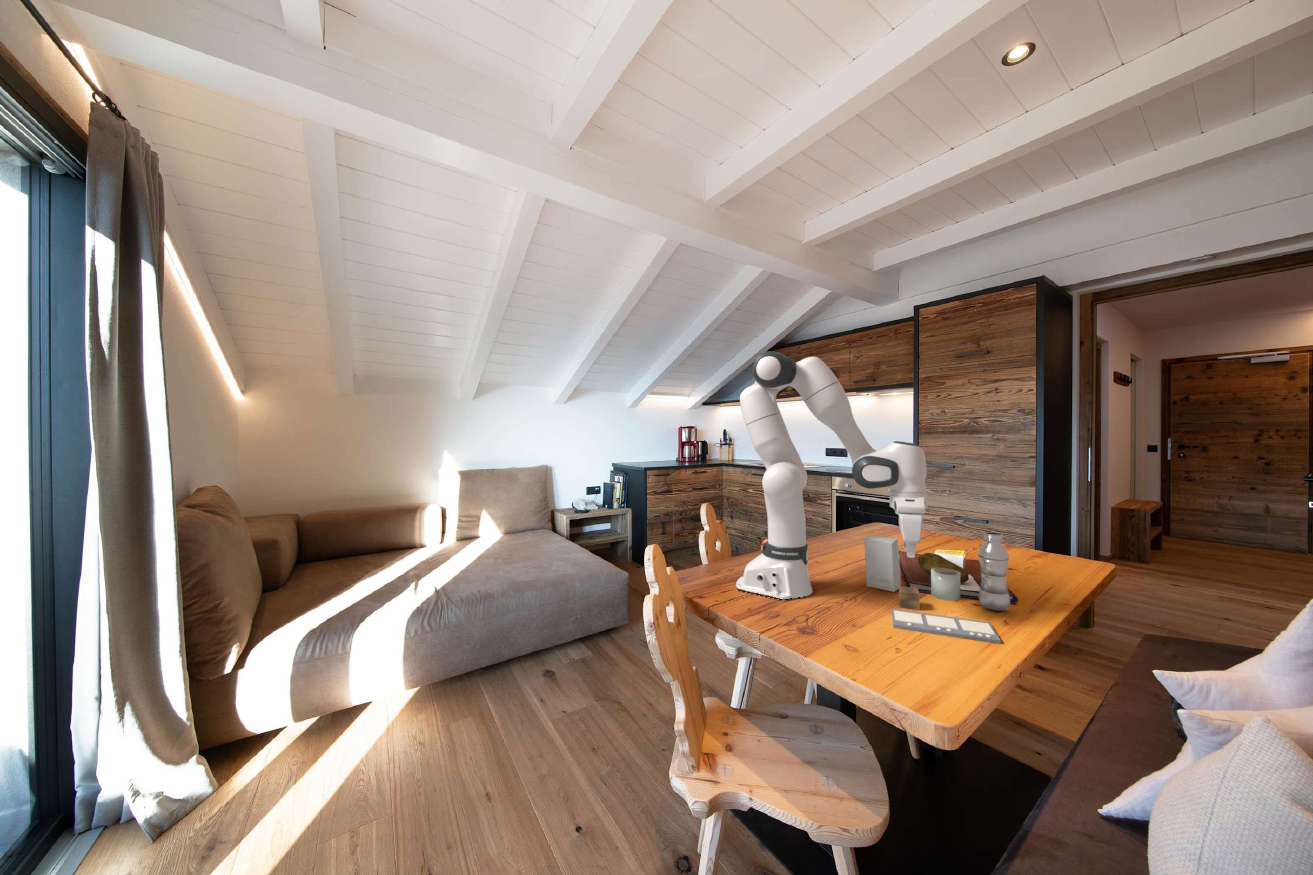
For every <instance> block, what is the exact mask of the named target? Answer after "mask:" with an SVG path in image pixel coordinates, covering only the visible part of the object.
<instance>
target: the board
mask: <svg viewBox="0 0 1313 875" xmlns="http://www.w3.org/2000/svg"><path fill="white" fill-rule="evenodd" d="M891 618H892V625H893V628H895V629H900V630H902V629H903V630H908V631H914V632H919V633H920V632H921V633H927V634H933V635H940V636H946V637H952V638H953V637H954V638H960V639H967V640H972V641H979V642H986V643H992V642H993V643H994V644H997V643H998V645H999V644H1000V645H1001V644H1002V640H1001V638H1000V637H999V635H998V634H997V632H996V631H995V629H994V627H993V626H992V624H991V623H990V622H989V621H984V620H983V621H982V620H976V619H969V618H961V617H954V616H946V615H940V614H932V613H925V612H917V611H911V610H903V609H897V608H891ZM993 643H992V644H993Z"/></svg>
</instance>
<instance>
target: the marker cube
mask: <svg viewBox="0 0 1313 875" xmlns="http://www.w3.org/2000/svg"><path fill="white" fill-rule="evenodd" d="M898 604H899V608H900V609H907V610H914V611H920V609H921V608H920V607H921V606H920V591H919V588H917V587H911V586H902V585H901V586H899V589H898Z"/></svg>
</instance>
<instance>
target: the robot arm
mask: <svg viewBox="0 0 1313 875" xmlns="http://www.w3.org/2000/svg"><path fill="white" fill-rule="evenodd" d="M751 369H752V370H751V371H752V373H751V374H752V376H753V378H754V383H753V384H752V385H749V386H748V387H745V388H744V390H743V391H742V392H740V396H739V403H740V404H739V405H740V410H741V413H742V417H743V421H744V424H745V427H746V429H747V432H748V434H749V437H750V439H751V442H752V445H753V448H754V450H755V451H756V453H757V455H758V456H759V458H760V459H761V461H762V463H763V465H764V468H765V469H766V470H765V472H764V473H763V476H762V480H761V482H762V484H761V485H762V489H763V496H764V497H763V498H764V502H765V509H766V517H767V538H765V539H764V540H763V541H762V542H761V546H760V550H761V553H760V554H759V555H758V556H756V557H755V558H753V559H752V560H751V561H749V562H748V563H747V564H746V565H745V568H744V570H743V571H744V572H743V576H740V577H739V578H738V580H736V583H735V588H736V587H737V588H738V589H742V590H745V591H750V592H754V593H759V594H764V595H769V596H773V597H776V598H780V599H789V598H792V599H799V598H798V597H800V598H805V597H808V596H811V594H813V587H812V584H811V580H810V575H809V570H808V568H809V567H808V563H809V547H808V544H807V534H806V533H807V529H806V528H807V526H806V525H807V524H806V521H807V520H806V519H807V517H806V514H805V507H804V506H805V505H804V494H803V491H804V489H805V488H806V485H807V484H808V483H807V482H808V473H807V470H806V468H805V466H804V464H803V461H802V459H801V456H800V454H799V452H798V450H797V448H796V447H795V445H794V443H793V440H792V439H791V437H790V434H789V432H788V429H787V426H786V424H785V421H784V418H783V416H782V414H781V411H780V408H779V405H778V403H777V397H779V395H781V394H782V393H783V392H785V391H786V390H787V389H788V388H790V387H791V388H794V389H795V390H796V391H797V393H798V394H799V396H800V397H801V399H802V401H803V402H804V403H805V405H806V407H807V408H808V410H809V411H810V413H811V414H812V415H813V416H814V417H815V418H816V419H817V421H819V422H820V423H822V424H824V425H825V426H826V427H828V428H829V429H831V431H833V433H835V435H836V436H837V437H838V439H839V440H840V442H841V444H842V446H844V448H845V450H846V451H847V453H848V454H849V457H850V459H851V462H852V468H851V473H852V474H851V476H852V478H853V480H854V481H855V483H856V484H858V485H859V486H861V487H862V488H863V489H864V488H865V489H868V490H876V489H880V488H887V487H888V490H889V492H888V493H889V507H890V508H892V509H893V510H894V513H895V514H896V515H898V527H899V531H900V532H901V537H902V539H903V547H904V548H905V549H906V557H907V558H909V559H910V558H912V559H914V558H915V557H916V546H917V545H919V544H920V543H921V540H922V533H923V532H922V531H923V530H922V529H923V520H924V519H923V518H924V516H923V515H924V514H926V510H927V509H928V490H927V487H926V486H927V485H926V478H927V461H926V454H925V450H924V448H922V447H921V446H920V445H918V444H917V443H912V442H908V441H907V442H905V441H899V440H896V441H892V442H890V443H889V444H888V445H886V446H883V447H882V448H881V449H878V450H875V449H874V448H873V447H872V446H871V444H870V443H869V442H868V440H867V438H866V437H865V436H864V434H863V432H862V431H861V429H860V428H859V426H858V424H857V423H856V420H855V418H854V415H853V412H852V407H851V404H850V401H849V398H848V396H847V394H846V391H845V390H844V387H843V385H842V384H841V383H840V380H839V379H838V377H837V376H836V375H835V374H834V372H833V370H832V369H830V367H829V366H828V365H827V364H826V363H825V362H824V361H823V360H822V359H821V358H819V357H817V356H808V357H805V358H802V359H800V361H797V362H796V360H794V358H791V357H790V356H787V355H785V354H783V353H781V352H779V351H774V350H773V351H766V352H763V353H760V354H759V355H758V356H757V357H756V358H755V359H754V361H753V364H752V368H751ZM804 596H805V597H804ZM789 600H790V599H789Z"/></svg>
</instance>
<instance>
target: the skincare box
mask: <svg viewBox="0 0 1313 875" xmlns="http://www.w3.org/2000/svg"><path fill="white" fill-rule="evenodd" d="M863 542H864V544H863V546H864V556H865V557H864V560H865V562H864V563H865V576H866V587H869V588H874V589H879V590H883V591H888V592H893V593H895V592H896V591H897V590H898V591H899V586H902V585H901V584H902V583H901V582H902V581H901V570H900V569H901V567H900V554H899V553H900V552H899V551H900V550H899V539H898V538H891V537H883V536H874V535H870V536H868V537H866V538H864V540H863Z"/></svg>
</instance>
